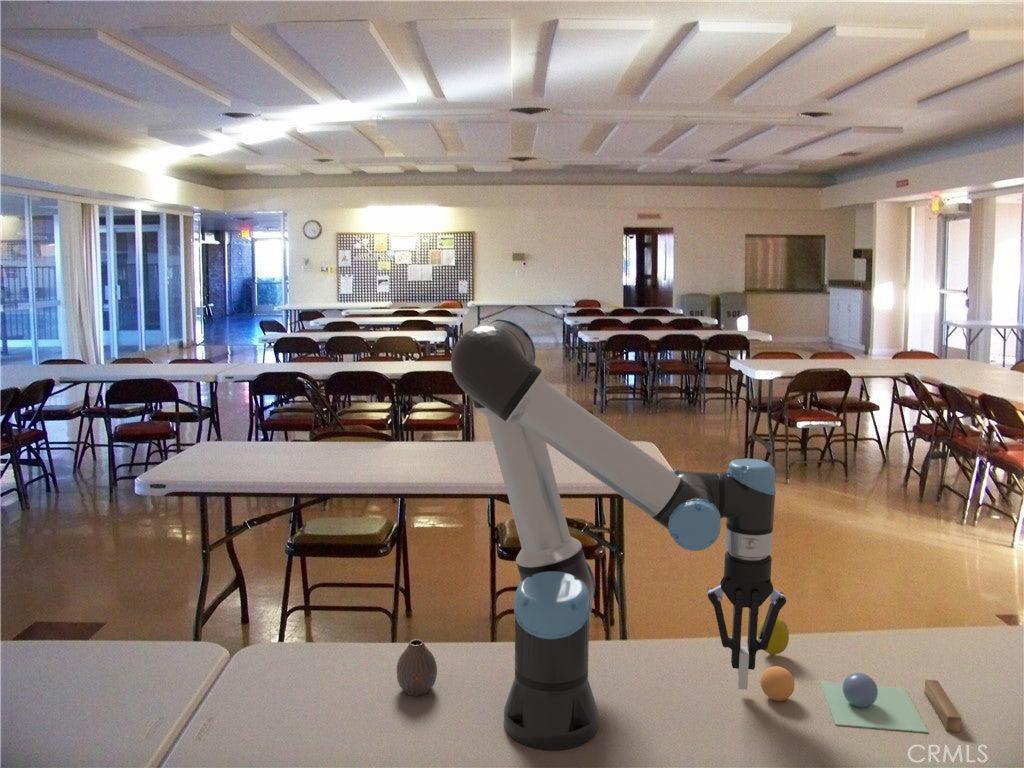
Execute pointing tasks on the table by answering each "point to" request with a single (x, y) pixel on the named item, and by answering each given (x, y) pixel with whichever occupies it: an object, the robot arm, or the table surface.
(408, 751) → the table surface
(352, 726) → the table surface
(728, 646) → the robot arm
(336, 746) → the table surface
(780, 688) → the ball
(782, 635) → the lemon
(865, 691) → the ball
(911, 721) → the mark
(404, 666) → the vase
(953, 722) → the rail
